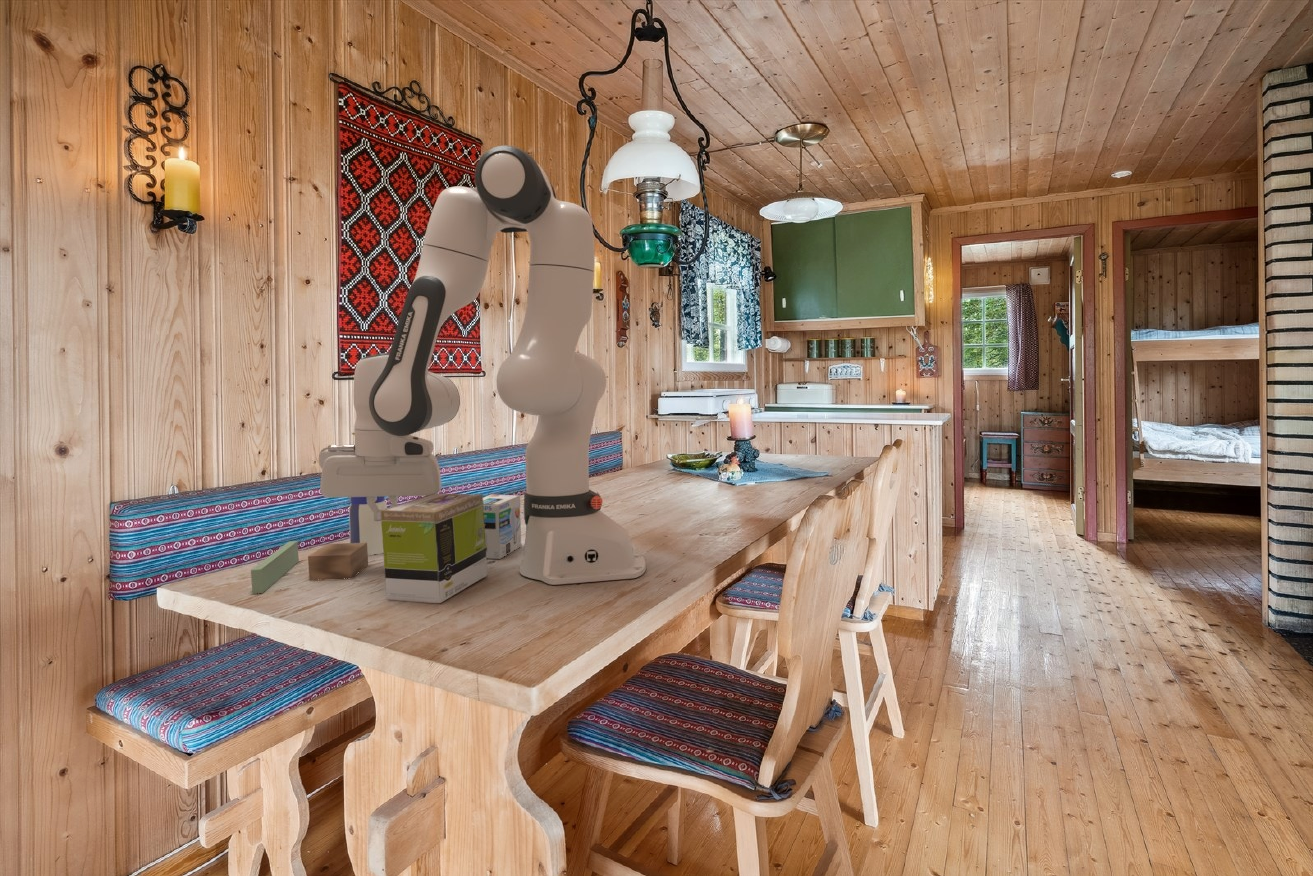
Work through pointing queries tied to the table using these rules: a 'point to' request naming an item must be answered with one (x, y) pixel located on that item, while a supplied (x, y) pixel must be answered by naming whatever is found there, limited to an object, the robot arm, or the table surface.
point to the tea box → (433, 547)
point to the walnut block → (338, 561)
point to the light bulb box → (501, 525)
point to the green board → (274, 567)
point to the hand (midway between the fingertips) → (383, 520)
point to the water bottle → (366, 524)
